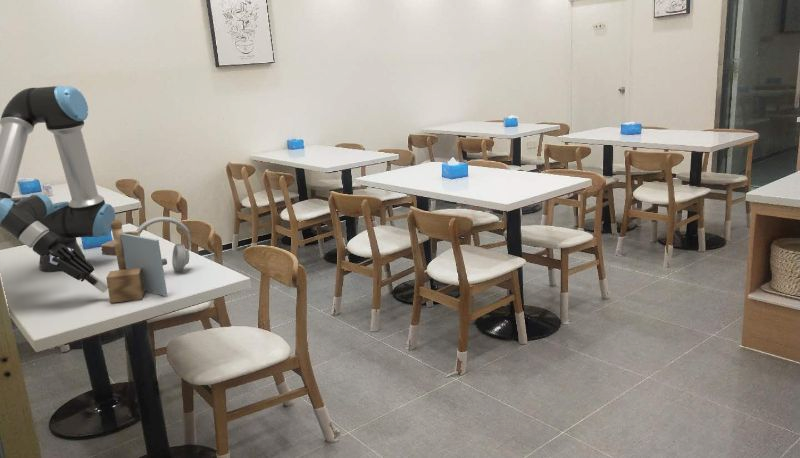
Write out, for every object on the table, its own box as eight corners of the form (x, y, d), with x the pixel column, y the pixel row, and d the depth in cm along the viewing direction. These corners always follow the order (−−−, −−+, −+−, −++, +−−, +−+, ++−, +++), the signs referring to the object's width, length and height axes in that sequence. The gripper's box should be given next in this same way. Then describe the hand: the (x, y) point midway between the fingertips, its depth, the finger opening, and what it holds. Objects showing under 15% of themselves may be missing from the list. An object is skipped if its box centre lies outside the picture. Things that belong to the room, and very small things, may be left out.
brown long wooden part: (119, 288, 197) (107, 221, 192) (123, 284, 201) (112, 219, 195) (145, 286, 198) (134, 220, 192) (148, 282, 201) (138, 217, 195)
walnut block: (110, 302, 183) (106, 277, 181) (113, 295, 190) (110, 271, 188) (142, 299, 186) (138, 274, 184) (144, 292, 192) (141, 267, 190)
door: (164, 295, 186) (155, 240, 182) (128, 285, 197) (119, 233, 193) (175, 291, 189) (166, 237, 185) (139, 282, 201) (130, 230, 196)
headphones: (140, 283, 201) (130, 224, 196) (136, 276, 209) (126, 219, 204) (198, 271, 210) (189, 215, 205) (192, 265, 218) (184, 210, 213)
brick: (101, 254, 239) (98, 243, 238) (118, 248, 247) (116, 237, 245) (131, 258, 232) (129, 246, 231) (148, 252, 240) (146, 240, 238)
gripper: (45, 242, 189) (108, 290, 194) (21, 254, 177) (89, 305, 181) (59, 225, 188) (122, 273, 193) (36, 236, 175) (104, 287, 180)
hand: (106, 288), depth 187 cm, fingers closed
